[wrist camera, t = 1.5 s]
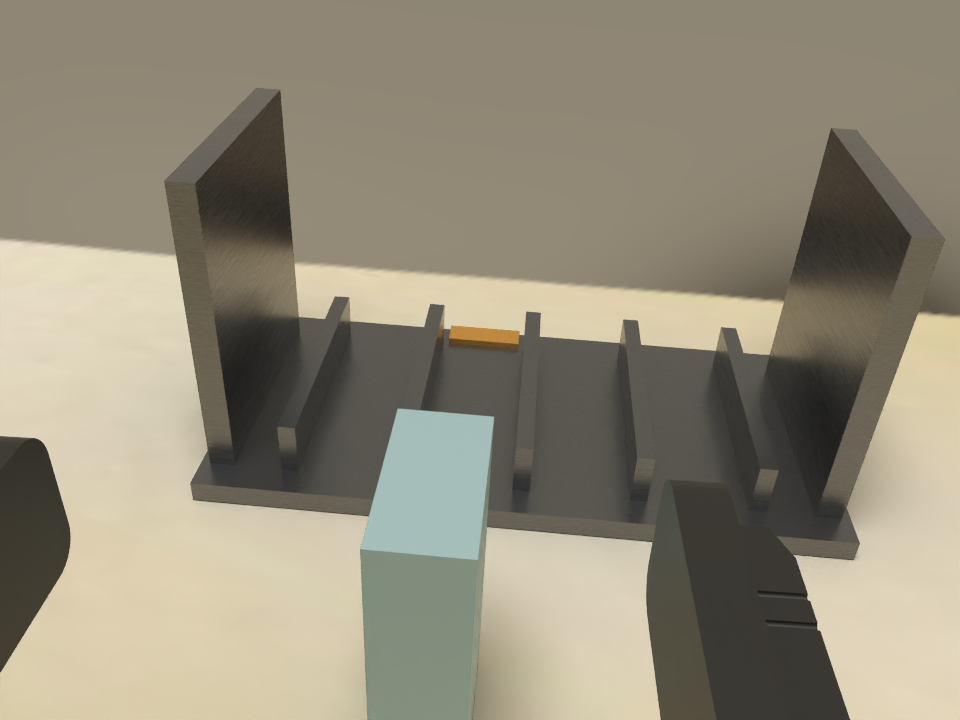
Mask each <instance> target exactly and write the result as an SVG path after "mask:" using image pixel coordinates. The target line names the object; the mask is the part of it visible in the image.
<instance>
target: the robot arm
mask: <svg viewBox="0 0 960 720" xmlns="http://www.w3.org/2000/svg"><path fill="white" fill-rule="evenodd" d="M69 549H70V527H69V523H68V519H67V516H66V513H65V509H64V506H63V502H62V499H61V495H60V492H59V489H58V485H57V482H56V478H55V475H54V471H53V468H52V464H51V461H50V458H49V454H48V451H47V449H46V447H45V445H44V444H43V443H42V442H41V441H40V440H38V439H35V438H21V437H5V436H0V672H1V671H2V669H3V668H4V666H5V664H6V663H7V661H8V659H9V658H10V656H11V655H12V653H13V651H14V650H15V648H16V647H17V645H18V643H19V642H20V640H21V639H22V637H23V635H24V634H25V632H26V630H27V629H28V627H29V626H30V624H31V622H32V621H33V619H34V618H35V616H36V614H37V613H38V611H39V610H40V608H41V606H42V605H43V603H44V601H45V600H46V598H47V597H48V595H49V593H50V592H51V590H52V589H53V587H54V585H55V584H56V582H57V581H58V579H59V577H60V576H61V574H62V572H63V570H64V567H65V565H66V562H67V558H68V554H69ZM807 595H808V593H807V590H806V587H805V584H804V581H803V578H802V576H801V573H800V570H799V567H798V564H797V561H796V558H795V557H794V556H793V555H792V554H791V552H790V551H789V550H788V549H787V548H786V547H785V545H784V544H783V543H782V542H781V541H780V540H779V539H778V537H777V536H776V535H775V534H774V533H773V532H772V530H771V529H770V528H769V527H760V526H744V525H739V521H738V518H737V514H736V510H735V507H734V503H733V499H732V496H731V492H730V489H729V487H728V485H727V484H726V483H717V482H701V481H685V480H669V479H668V480H666V481H665V483H664V486H663V490H662V495H661V500H660V506H659V511H658V516H657V522H656V527H655V533H654V538H653V543H652V549H651V554H650V560H649V565H648V573H647V590H646V601H647V616H648V624H649V632H650V640H651V647H652V655H653V663H654V670H655V678H656V686H657V693H658V701H659V709H660V717H661V720H850V718H849V715H848V713H847V710H846V707H845V704H844V701H843V698H842V695H841V692H840V689H839V686H838V683H837V680H836V677H835V674H834V671H833V668H832V665H831V662H830V659H829V656H828V653H827V650H826V647H825V644H824V641H823V638H822V635H821V632H820V631H818V630H817V620H816V617H815V614H814V611H813V608H812V605H811V602H810V601H808V600H807Z"/></svg>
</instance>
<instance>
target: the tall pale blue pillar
mask: <svg viewBox="0 0 960 720" xmlns="http://www.w3.org/2000/svg"><path fill="white" fill-rule="evenodd" d="M493 427H494V417H492V416H480V415H468V414H457V413H445V412H433V411H422V410H410V409H398V410H397V414H396V417H395V421H394V425H393V428H392V432H391V436H390V440H389V443H388V447H387V451H386V455H385V458H384V462H383V466H382V470H381V473H380V477H379V481H378V485H377V488H376V492H375V496H374V499H373V503H372V507H371V511H370V514H369V518H368V522H367V526H366V529H365V533H364V537H363V541H362V544H361V548H360V556H361V579H362V602H363V625H364V648H365V671H366V694H367V718H368V720H472V716H473V706H474V696H475V687H476V677H477V667H478V652H479V637H480V622H481V607H482V592H483V577H484V562H485V547H486V532H487V517H488V502H489V487H490V472H491V457H492V442H493Z"/></svg>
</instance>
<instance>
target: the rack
mask: <svg viewBox="0 0 960 720" xmlns="http://www.w3.org/2000/svg"><path fill="white" fill-rule="evenodd" d="M164 182H165V188H166V195H167V201H168V207H169V213H170V219H171V226H172V232H173V238H174V244H175V249H176V256H177V262H178V269H179V275H180V281H181V287H182V293H183V299H184V306H185V312H186V318H187V324H188V330H189V336H190V342H191V349H192V355H193V361H194V367H195V373H196V379H197V385H198V392H199V398H200V404H201V410H202V416H203V422H204V428H205V435H206V441H207V447H208V451H207V453H206V455H205V457H204V459H203V461H202V462H201V464H200V466H199V468H198V470H197V472H196V474H195V476H194V477H193V479H192V481H191V483H190V484H191V490H192V495H193V500H202V501H213V502H224V503H235V504H246V505H257V506H268V507H279V508H290V509H301V510H312V511H323V512H334V513H345V514H356V515H367V516H369V514H370V511H371V507H372V503H373V499H374V496H375V492H376V488H377V485H378V481H379V477H380V473H381V470H382V466H383V462H384V458H385V455H386V451H387V447H388V443H389V440H390V436H391V432H392V428H393V425H394V421H395V417H396V414H397V410H398V409H410V410H422V411H433V412H445V413H457V414H468V415H480V416H492V417H494V427H493V442H492V457H491V472H490V487H489V502H488V517H487V526H488V527H499V528H510V529H521V530H532V531H543V532H554V533H565V534H576V535H587V536H598V537H609V538H620V539H631V540H642V541H653V538H654V533H655V527H656V522H657V516H658V511H659V506H660V500H661V495H662V490H663V486H664V483H665V481H666V480H668V479H669V480H685V481H701V482H717V483H726V484H727V485H728V487H729V489H730V492H731V496H732V499H733V503H734V507H735V510H736V514H737V518H738V521H739V525H744V526H760V527H769V528H770V529H771V530H772V532H773V533H774V534H775V535H776V536H777V537H778V539H779V540H780V541H781V542H782V543H783V544H784V545H785V547H786V548H787V549H788V550H789V551H790V552H791V554H796V555H807V556H818V557H829V558H840V559H851V560H854V557H855V555H856V552H857V550H858V547H859V545H860V543H859V540H858V537H857V535H856V532H855V529H854V527H853V524H852V522H851V519H850V516H849V514H848V511H847V508H846V506H847V504H848V501H849V498H850V496H851V493H852V490H853V488H854V485H855V482H856V479H857V477H858V474H859V471H860V469H861V466H862V463H863V460H864V458H865V455H866V452H867V450H868V447H869V444H870V441H871V439H872V436H873V433H874V431H875V428H876V425H877V423H878V420H879V417H880V414H881V412H882V409H883V406H884V404H885V401H886V398H887V395H888V393H889V390H890V387H891V385H892V382H893V379H894V376H895V374H896V371H897V368H898V366H899V363H900V360H901V358H902V355H903V352H904V349H905V347H906V344H907V341H908V339H909V336H910V333H911V330H912V328H913V325H914V322H915V320H916V317H917V314H918V311H919V309H920V306H921V303H922V301H923V298H924V295H925V293H926V290H927V287H928V284H929V281H930V279H931V276H932V274H933V271H934V268H935V265H936V263H937V260H938V257H939V255H940V252H941V249H942V247H943V244H944V241H945V239H944V237H943V236H942V235H941V234H940V232H939V231H938V230H937V229H936V227H935V226H934V225H933V224H932V222H931V221H930V220H929V219H928V218H927V216H926V215H925V214H924V213H923V211H922V210H921V209H920V208H919V207H918V205H917V204H916V203H915V201H914V200H913V199H912V198H911V197H910V195H909V194H908V193H907V192H906V191H905V189H904V188H903V187H902V186H901V184H900V183H899V182H898V181H897V179H896V178H895V177H894V176H893V174H892V173H891V172H890V171H889V169H888V168H887V167H886V166H885V164H884V163H883V162H882V161H881V160H880V158H879V157H878V156H877V155H876V153H875V152H874V151H873V150H872V149H871V148H870V146H869V145H868V144H867V142H866V141H865V140H864V139H863V137H862V136H861V135H860V134H859V132H858V131H857V130H850V129H836V128H831V130H830V134H829V138H828V141H827V146H826V149H825V153H824V156H823V160H822V164H821V167H820V171H819V175H818V179H817V183H816V186H815V190H814V193H813V197H812V201H811V204H810V208H809V212H808V216H807V219H806V223H805V227H804V230H803V234H802V238H801V242H800V245H799V249H798V253H797V256H796V260H795V264H794V267H793V271H792V275H791V279H790V283H789V286H788V290H787V293H786V297H785V301H784V304H783V308H782V312H781V316H780V319H779V323H778V327H777V330H776V334H775V338H774V341H773V345H772V349H771V353H770V355H758V354H746V353H743V350H742V347H741V344H740V340H739V337H738V334H737V330H736V328H723V327H721V331H720V335H719V340H718V344H717V348H716V351H709V350H697V349H684V348H672V347H660V346H647V345H641V342H640V334H639V326H638V321H636V320H623V325H622V332H621V338H620V343H610V342H598V341H586V340H573V339H561V338H549V337H540V317H541V313H536V312H526V322H525V334H524V335H519V331H511V330H498V329H486V328H474V327H461V326H451V330H450V329H444V306H445V305H436V304H430V307H429V311H428V315H427V319H426V323H425V327H413V326H401V325H388V324H376V323H364V322H352V321H350V304H349V298H348V297H335V298H334V300H333V303H332V305H331V307H330V309H329V312H328V314H327V316H326V318H325V319H315V318H302V317H299V316H298V303H297V291H296V279H295V266H294V254H293V243H292V230H291V217H290V205H289V192H288V180H287V167H286V155H285V144H284V131H283V118H282V105H281V93H280V90H276V89H262V88H256V89H255V90H254V91H253V92H252V93H251V94H250V95H249V96H248V97H247V98H246V99H245V100H244V101H243V102H242V103H241V104H240V105H239V106H238V107H237V108H236V109H235V110H234V111H233V112H232V113H231V114H230V115H229V116H228V117H227V118H226V119H225V120H224V121H223V122H222V123H221V124H220V125H219V126H218V127H217V128H216V129H215V130H214V131H213V132H212V133H211V134H210V135H209V136H208V137H207V138H206V139H205V140H204V141H203V142H202V144H200V145H199V147H197V148H196V150H194V151H193V152H192V153H191V154H190V155H189V156H188V157H187V158H186V160H185V161H183V162H182V164H181V165H180V166H179V167H178V168H177V169H176V170H175V171H174V172H173V173H172V174H171V175H170V176H169V177H168V178H167V179H166V180H165V181H164Z"/></svg>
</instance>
